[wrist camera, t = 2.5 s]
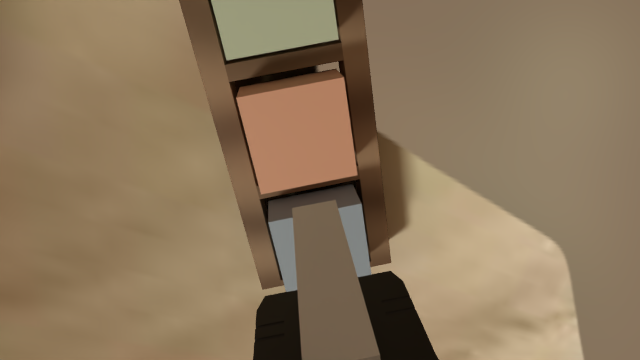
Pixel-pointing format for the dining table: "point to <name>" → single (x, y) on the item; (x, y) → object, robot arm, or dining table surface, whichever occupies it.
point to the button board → (233, 138)
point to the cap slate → (284, 232)
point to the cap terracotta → (298, 130)
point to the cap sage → (273, 25)
